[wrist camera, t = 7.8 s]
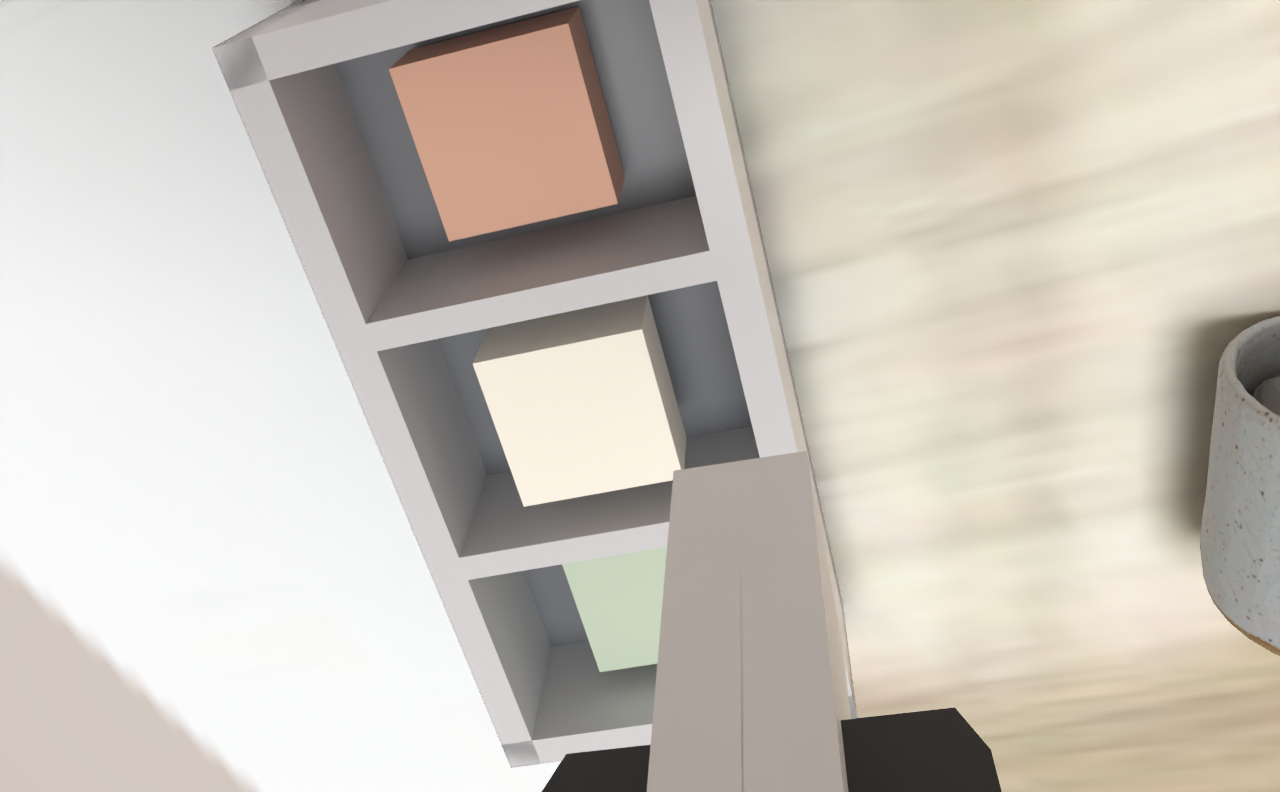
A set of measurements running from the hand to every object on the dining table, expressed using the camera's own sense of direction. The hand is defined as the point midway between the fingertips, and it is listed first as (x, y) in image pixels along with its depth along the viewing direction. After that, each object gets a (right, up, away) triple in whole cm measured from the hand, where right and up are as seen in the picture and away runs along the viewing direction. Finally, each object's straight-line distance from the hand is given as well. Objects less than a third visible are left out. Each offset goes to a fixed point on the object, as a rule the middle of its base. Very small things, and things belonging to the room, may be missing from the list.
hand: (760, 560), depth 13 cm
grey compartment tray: (-3, +4, +22) cm, 23 cm away
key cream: (-3, +2, +20) cm, 20 cm away
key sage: (-1, -4, +24) cm, 25 cm away
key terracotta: (-5, +9, +18) cm, 21 cm away
